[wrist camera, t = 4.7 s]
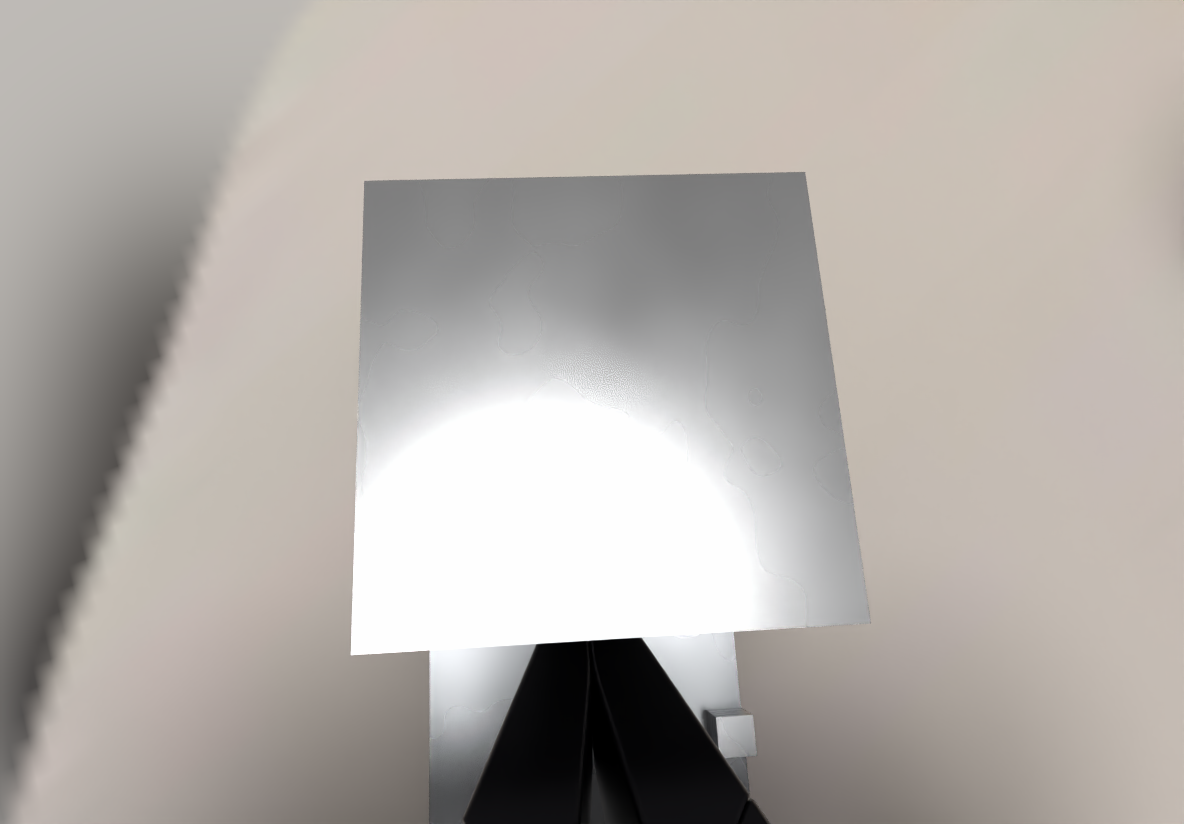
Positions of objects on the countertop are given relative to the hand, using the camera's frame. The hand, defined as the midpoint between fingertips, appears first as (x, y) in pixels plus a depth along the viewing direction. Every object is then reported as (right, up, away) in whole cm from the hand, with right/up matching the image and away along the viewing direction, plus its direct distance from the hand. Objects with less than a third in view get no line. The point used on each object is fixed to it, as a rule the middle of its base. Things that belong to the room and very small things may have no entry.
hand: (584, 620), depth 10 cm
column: (0, +1, +7) cm, 7 cm away
